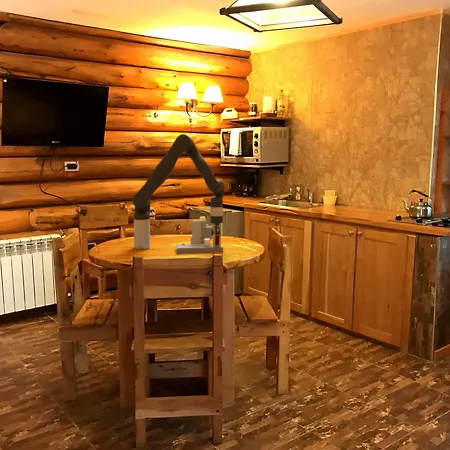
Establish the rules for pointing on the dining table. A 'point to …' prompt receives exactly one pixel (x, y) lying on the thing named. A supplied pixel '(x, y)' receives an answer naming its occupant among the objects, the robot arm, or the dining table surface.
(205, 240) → the switch
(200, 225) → the circuit breaker
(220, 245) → the cap
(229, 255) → the dining table surface
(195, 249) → the breaker panel
